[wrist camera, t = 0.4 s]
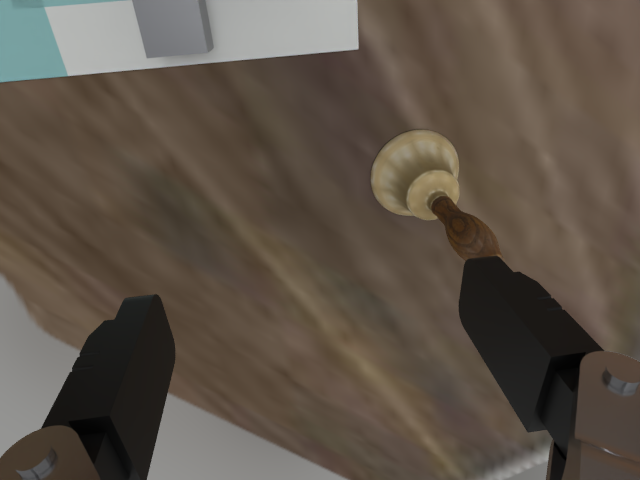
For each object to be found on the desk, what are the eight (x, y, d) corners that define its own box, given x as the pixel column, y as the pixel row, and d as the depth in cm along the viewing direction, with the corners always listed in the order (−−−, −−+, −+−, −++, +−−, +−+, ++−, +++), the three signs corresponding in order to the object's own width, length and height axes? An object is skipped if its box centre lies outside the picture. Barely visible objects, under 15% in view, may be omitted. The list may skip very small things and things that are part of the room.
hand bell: (365, 214, 40) (419, 323, 26) (375, 127, 36) (444, 201, 22) (448, 214, 41) (541, 318, 27) (466, 130, 37) (586, 201, 23)
